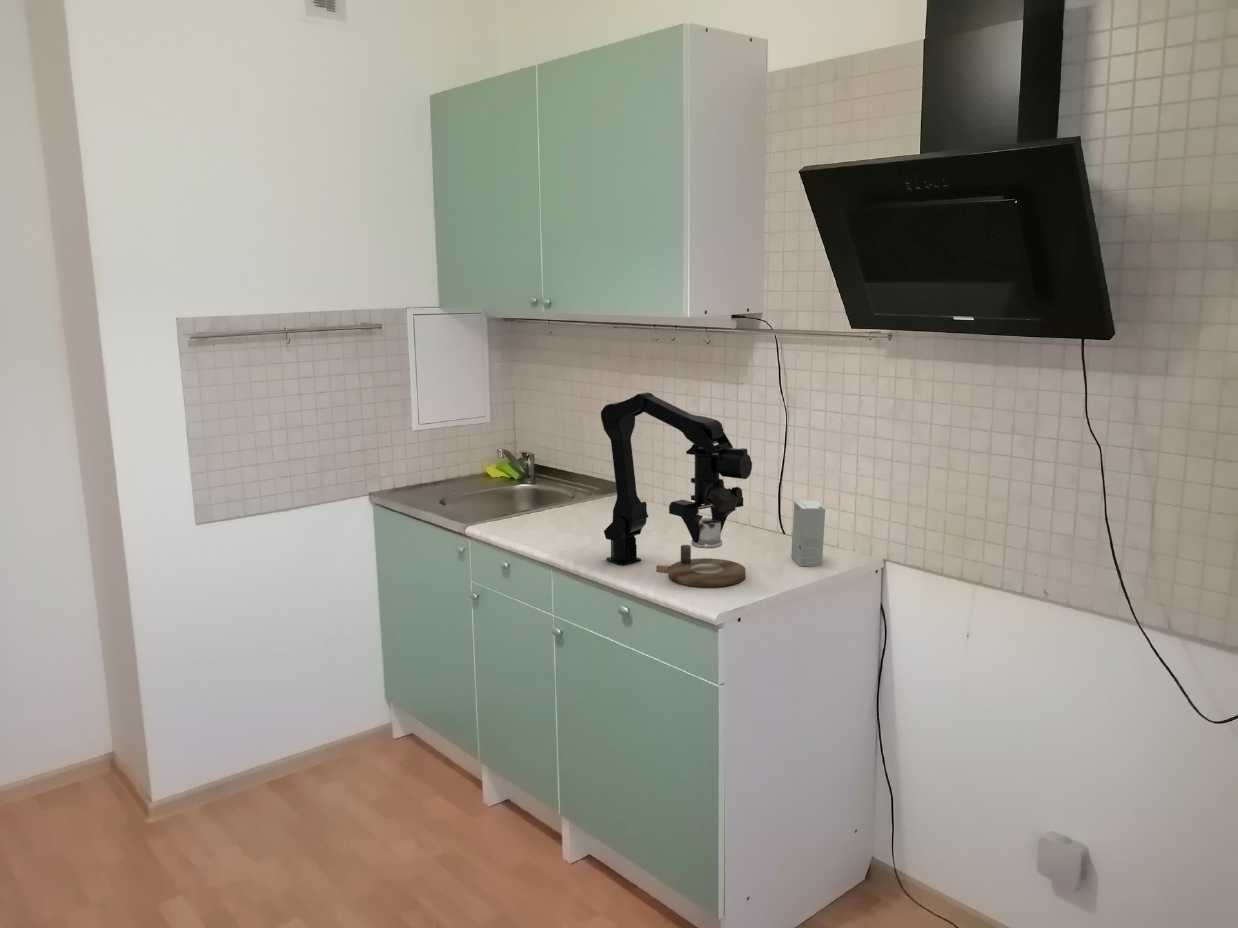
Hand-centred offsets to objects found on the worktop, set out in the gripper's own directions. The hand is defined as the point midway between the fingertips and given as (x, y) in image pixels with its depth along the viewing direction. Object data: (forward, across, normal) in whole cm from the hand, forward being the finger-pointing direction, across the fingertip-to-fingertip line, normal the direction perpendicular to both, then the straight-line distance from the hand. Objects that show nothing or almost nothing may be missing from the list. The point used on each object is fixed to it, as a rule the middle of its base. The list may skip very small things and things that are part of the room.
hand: (706, 539), depth 228 cm
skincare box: (+9, +27, -7) cm, 29 cm away
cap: (+1, 0, 0) cm, 1 cm away
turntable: (+9, 0, 0) cm, 9 cm away
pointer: (+9, -6, +9) cm, 14 cm away
